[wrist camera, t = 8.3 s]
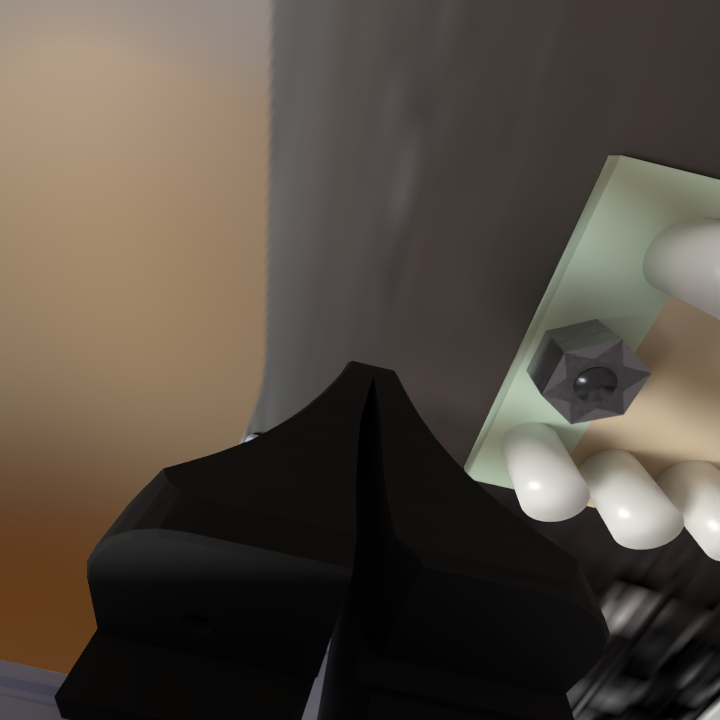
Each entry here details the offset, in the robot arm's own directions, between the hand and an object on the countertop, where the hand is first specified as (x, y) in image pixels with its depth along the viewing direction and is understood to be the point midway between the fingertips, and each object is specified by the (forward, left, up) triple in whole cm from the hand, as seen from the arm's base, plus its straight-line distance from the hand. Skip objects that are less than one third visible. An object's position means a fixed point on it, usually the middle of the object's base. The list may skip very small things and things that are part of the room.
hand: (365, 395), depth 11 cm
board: (-1, -15, -10) cm, 18 cm away
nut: (-1, -10, -9) cm, 14 cm away
